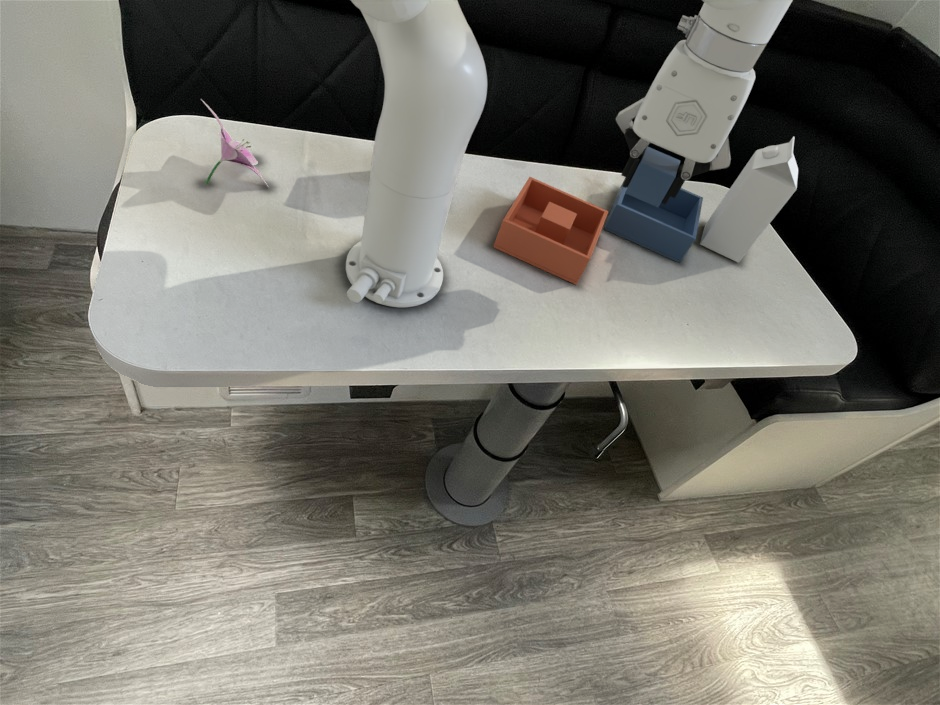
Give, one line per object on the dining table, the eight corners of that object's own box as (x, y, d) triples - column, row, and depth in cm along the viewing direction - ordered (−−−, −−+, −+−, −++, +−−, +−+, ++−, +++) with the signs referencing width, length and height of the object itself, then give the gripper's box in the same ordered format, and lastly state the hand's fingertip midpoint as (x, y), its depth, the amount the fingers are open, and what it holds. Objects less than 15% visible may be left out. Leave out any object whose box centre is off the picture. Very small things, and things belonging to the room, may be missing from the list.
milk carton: (742, 242, 103) (816, 146, 89) (738, 264, 98) (815, 166, 84) (704, 224, 103) (772, 126, 89) (698, 245, 99) (768, 145, 85)
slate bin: (679, 262, 94) (695, 239, 90) (603, 229, 95) (616, 204, 91) (688, 220, 103) (703, 197, 99) (618, 190, 104) (631, 166, 100)
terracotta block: (558, 253, 87) (570, 229, 84) (531, 240, 88) (541, 216, 84) (566, 237, 90) (577, 213, 87) (539, 225, 90) (549, 201, 87)
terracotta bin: (576, 285, 84) (590, 259, 81) (493, 247, 85) (502, 220, 81) (595, 236, 93) (608, 211, 89) (519, 202, 94) (529, 176, 90)
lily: (257, 223, 78) (289, 160, 74) (163, 179, 72) (193, 109, 69) (261, 193, 87) (289, 136, 84) (178, 152, 82) (205, 89, 78)
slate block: (658, 207, 73) (675, 177, 70) (624, 193, 74) (640, 162, 70) (663, 190, 76) (680, 160, 73) (631, 176, 77) (647, 146, 73)
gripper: (642, 25, 59) (577, 177, 73) (800, 90, 58) (703, 233, 72) (654, 5, 64) (591, 151, 78) (800, 64, 63) (710, 202, 77)
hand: (645, 189), depth 75 cm, fingers closed on slate block, 4 cm apart
